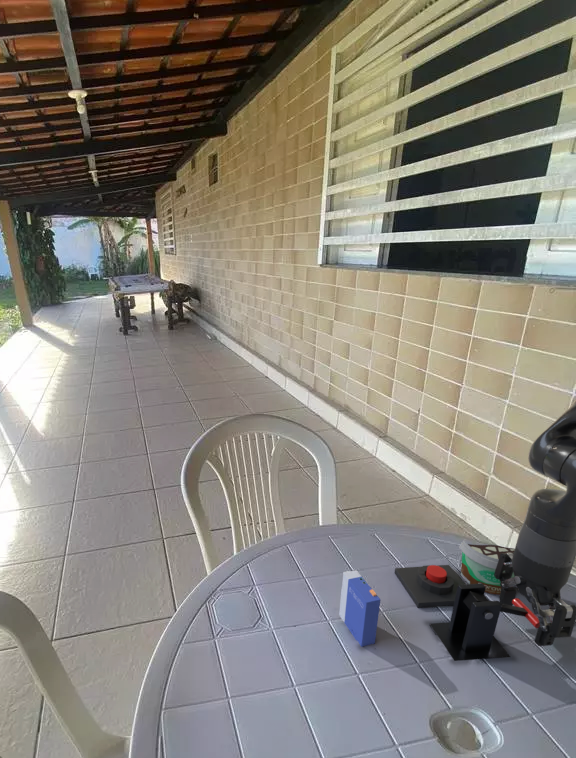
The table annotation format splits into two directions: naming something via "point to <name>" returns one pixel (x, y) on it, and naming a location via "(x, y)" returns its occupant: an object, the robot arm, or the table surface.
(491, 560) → the food container
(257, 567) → the table surface
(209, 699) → the table surface
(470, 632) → the switch bracket
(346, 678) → the table surface
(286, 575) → the table surface
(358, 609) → the walkman
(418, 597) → the stop block
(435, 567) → the stop button
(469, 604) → the lever
